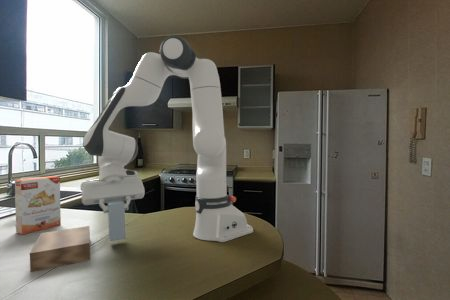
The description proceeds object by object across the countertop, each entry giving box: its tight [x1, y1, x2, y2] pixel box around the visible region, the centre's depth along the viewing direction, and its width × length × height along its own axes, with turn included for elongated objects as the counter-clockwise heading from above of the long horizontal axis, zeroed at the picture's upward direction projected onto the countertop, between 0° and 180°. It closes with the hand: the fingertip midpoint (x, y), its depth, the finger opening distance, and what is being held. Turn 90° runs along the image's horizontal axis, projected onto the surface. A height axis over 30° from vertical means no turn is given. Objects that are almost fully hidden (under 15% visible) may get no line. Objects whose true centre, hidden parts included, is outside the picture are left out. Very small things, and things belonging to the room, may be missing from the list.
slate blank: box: [107, 200, 127, 242], centre depth 86 cm, size 5×5×12 cm
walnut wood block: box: [29, 225, 91, 273], centre depth 79 cm, size 14×18×5 cm
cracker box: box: [14, 175, 62, 236], centre depth 103 cm, size 14×6×21 cm, turn 149°
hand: (116, 210), depth 85 cm, fingers closed on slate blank, 5 cm apart
